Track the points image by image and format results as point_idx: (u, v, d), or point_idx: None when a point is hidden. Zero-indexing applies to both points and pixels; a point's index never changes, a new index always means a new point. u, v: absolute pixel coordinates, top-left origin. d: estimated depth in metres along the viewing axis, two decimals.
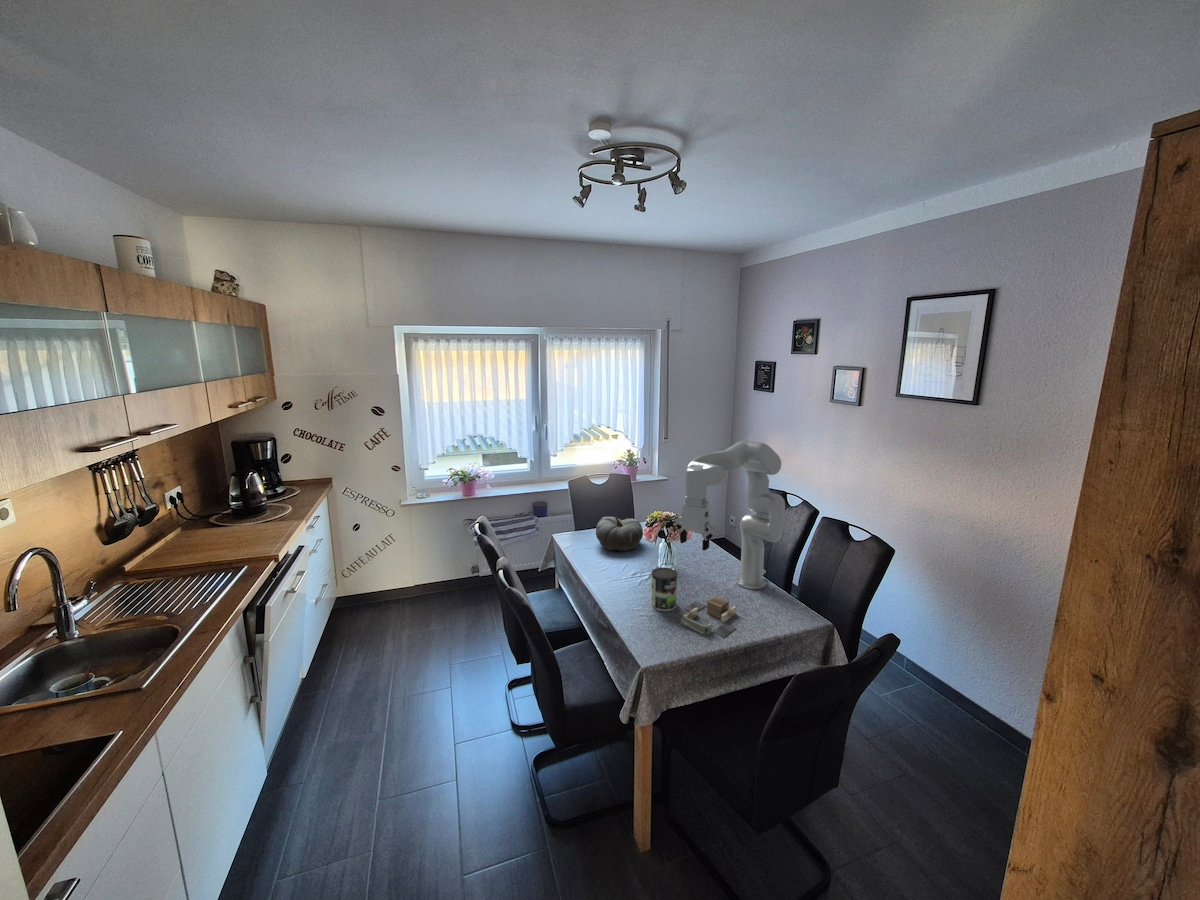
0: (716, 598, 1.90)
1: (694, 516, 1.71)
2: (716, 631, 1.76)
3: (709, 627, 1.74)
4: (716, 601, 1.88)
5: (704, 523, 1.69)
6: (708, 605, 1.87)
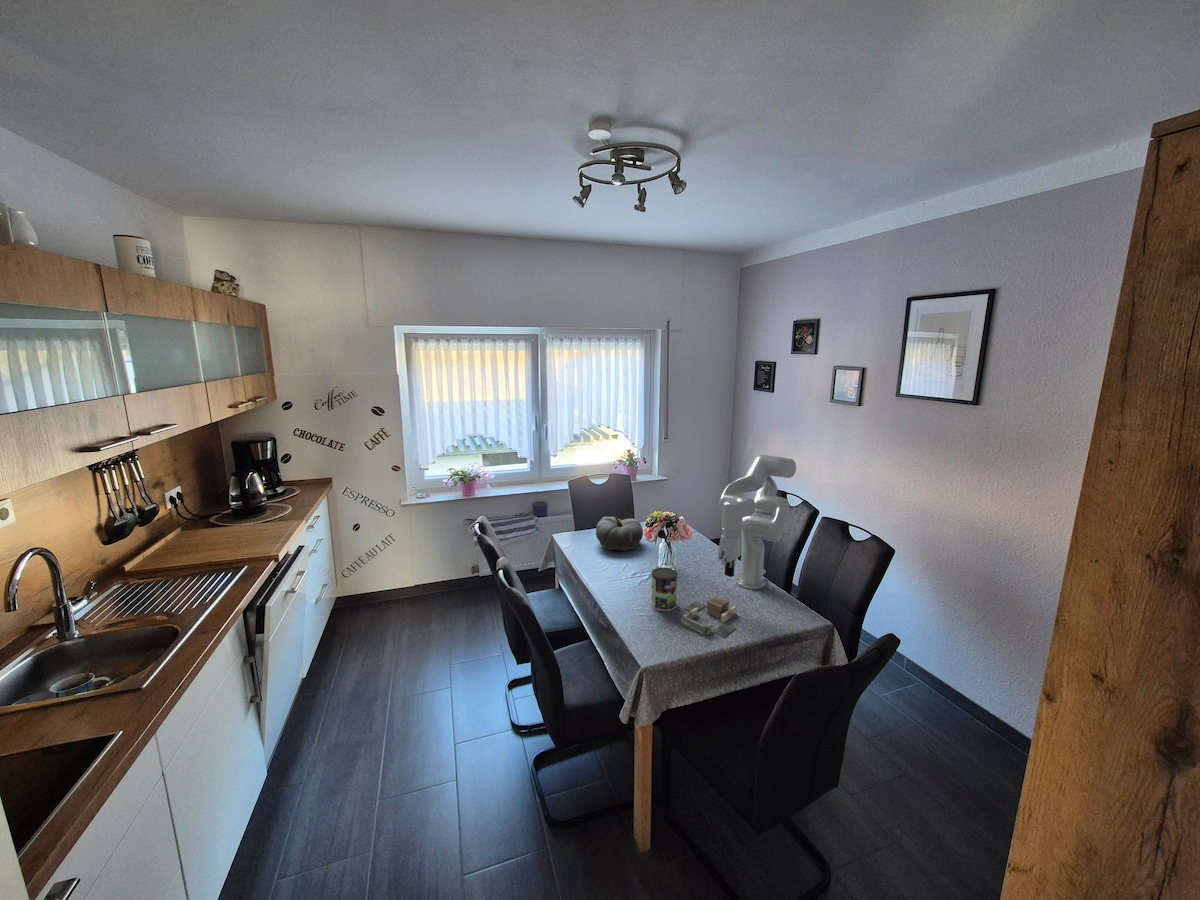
0: (716, 598, 1.90)
1: (738, 544, 1.88)
2: (716, 631, 1.76)
3: (709, 627, 1.74)
4: (716, 601, 1.88)
5: None
6: (708, 605, 1.87)
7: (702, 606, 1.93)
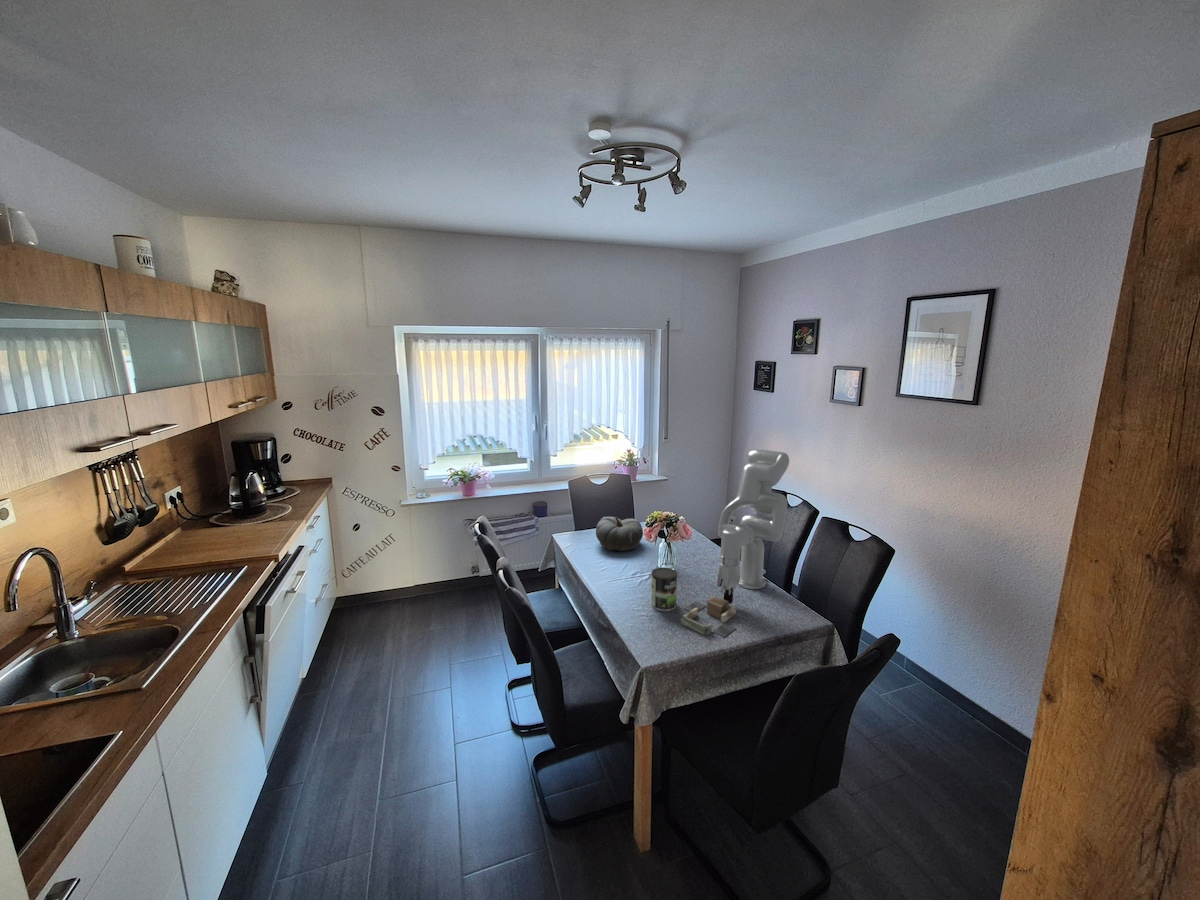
0: (716, 598, 1.90)
1: (736, 571, 1.90)
2: (716, 631, 1.76)
3: (709, 627, 1.74)
4: (716, 601, 1.88)
5: None
6: (709, 605, 1.87)
7: (702, 606, 1.93)
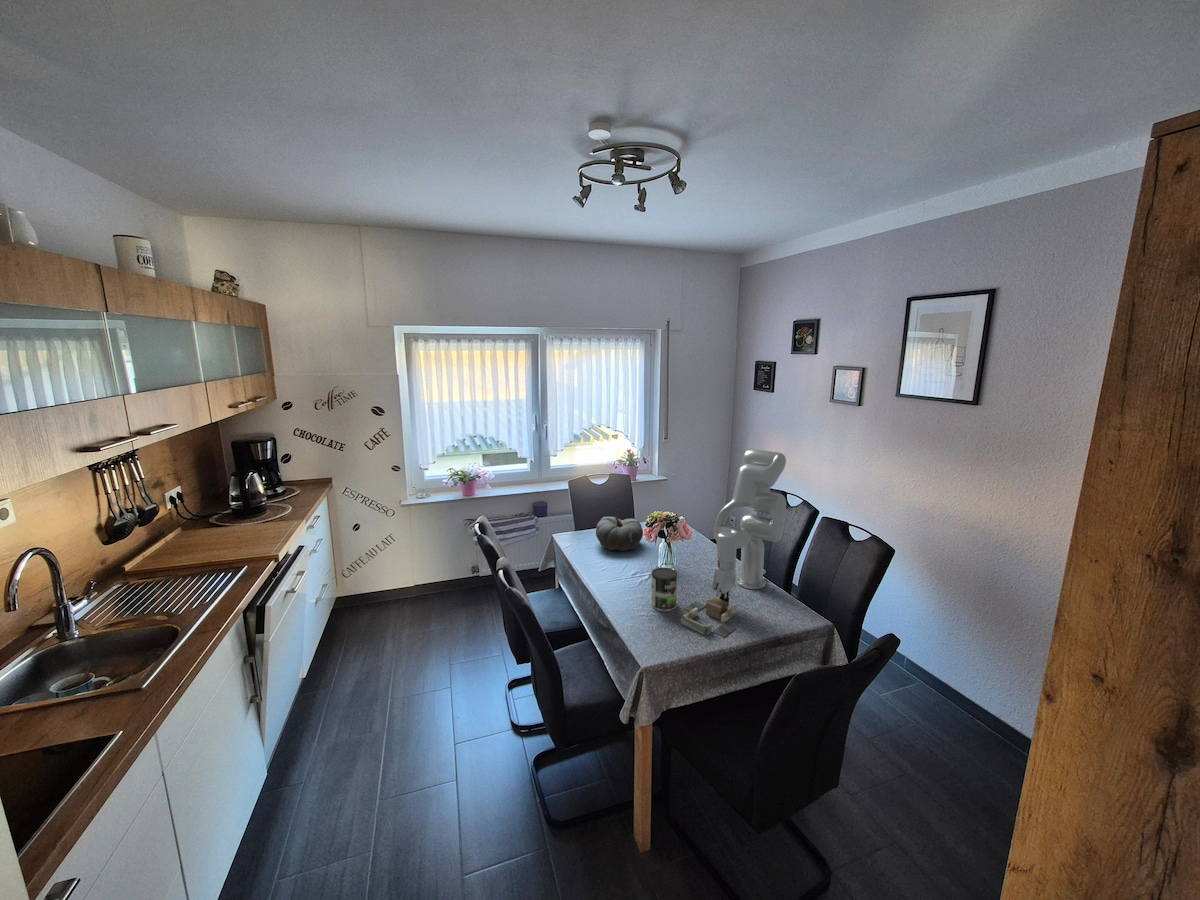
0: (715, 599, 1.89)
1: (732, 575, 1.88)
2: (716, 631, 1.76)
3: (709, 627, 1.74)
4: (715, 602, 1.87)
5: None
6: (707, 606, 1.87)
7: (702, 606, 1.93)
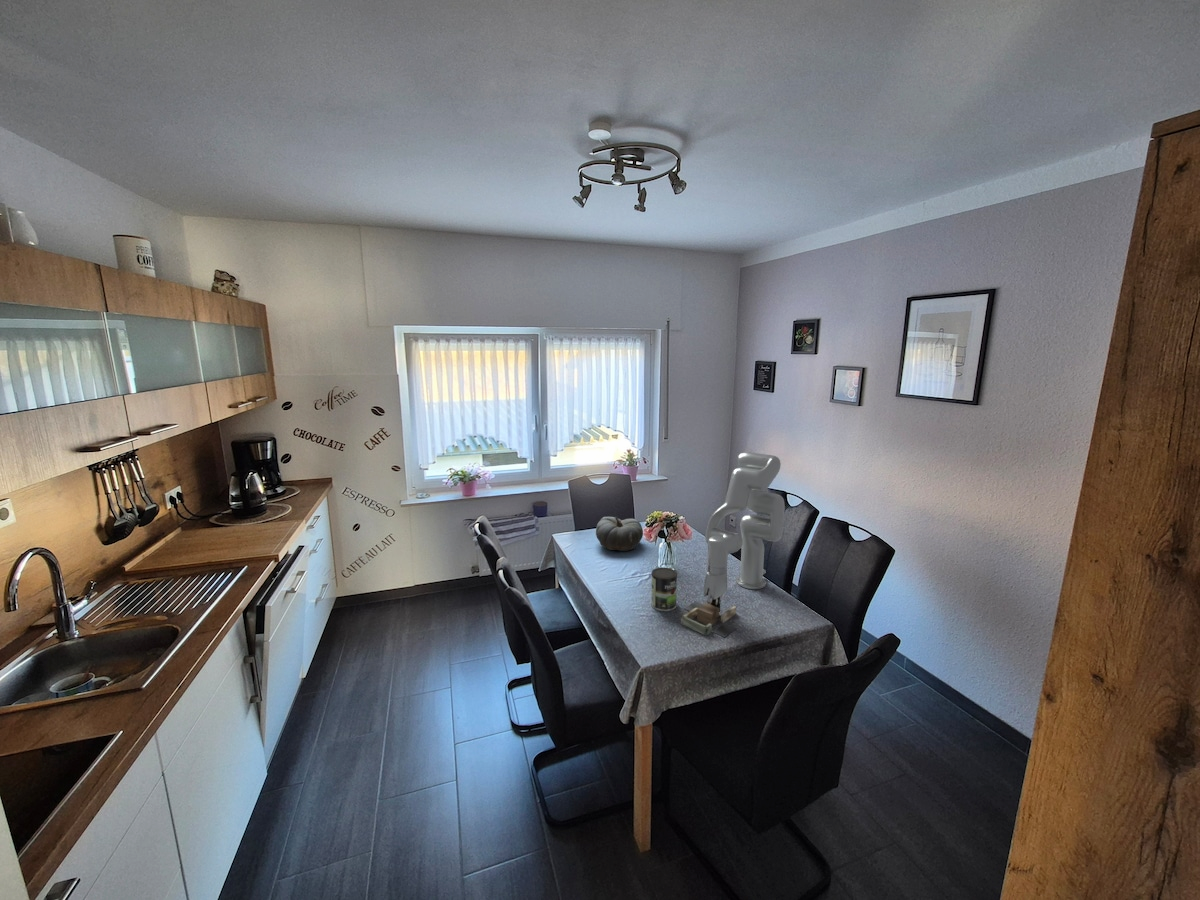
0: (706, 605, 1.85)
1: (724, 580, 1.84)
2: (716, 631, 1.76)
3: (709, 627, 1.74)
4: (706, 608, 1.82)
5: None
6: (699, 612, 1.82)
7: None
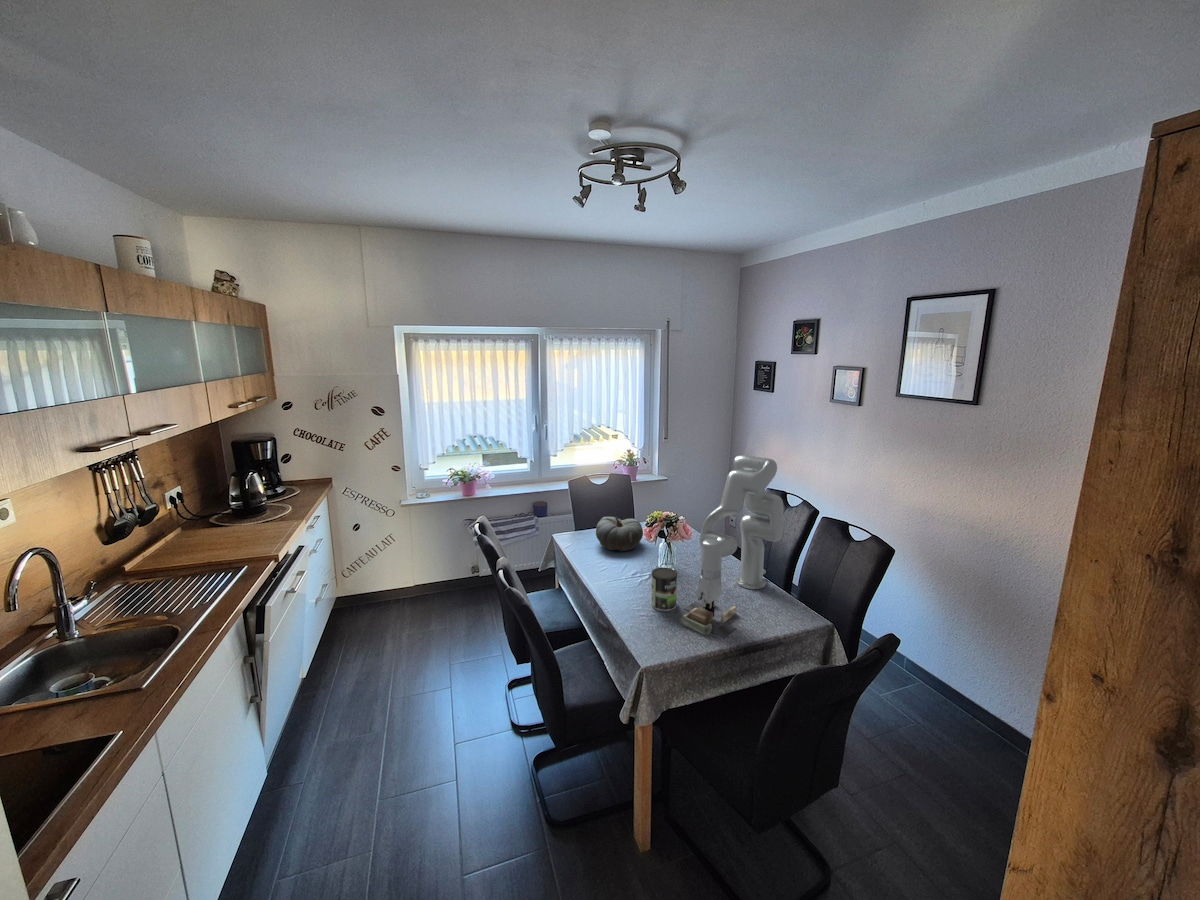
0: (700, 609, 1.82)
1: (718, 584, 1.81)
2: (716, 631, 1.76)
3: (709, 627, 1.74)
4: (700, 612, 1.80)
5: None
6: (692, 617, 1.79)
7: None
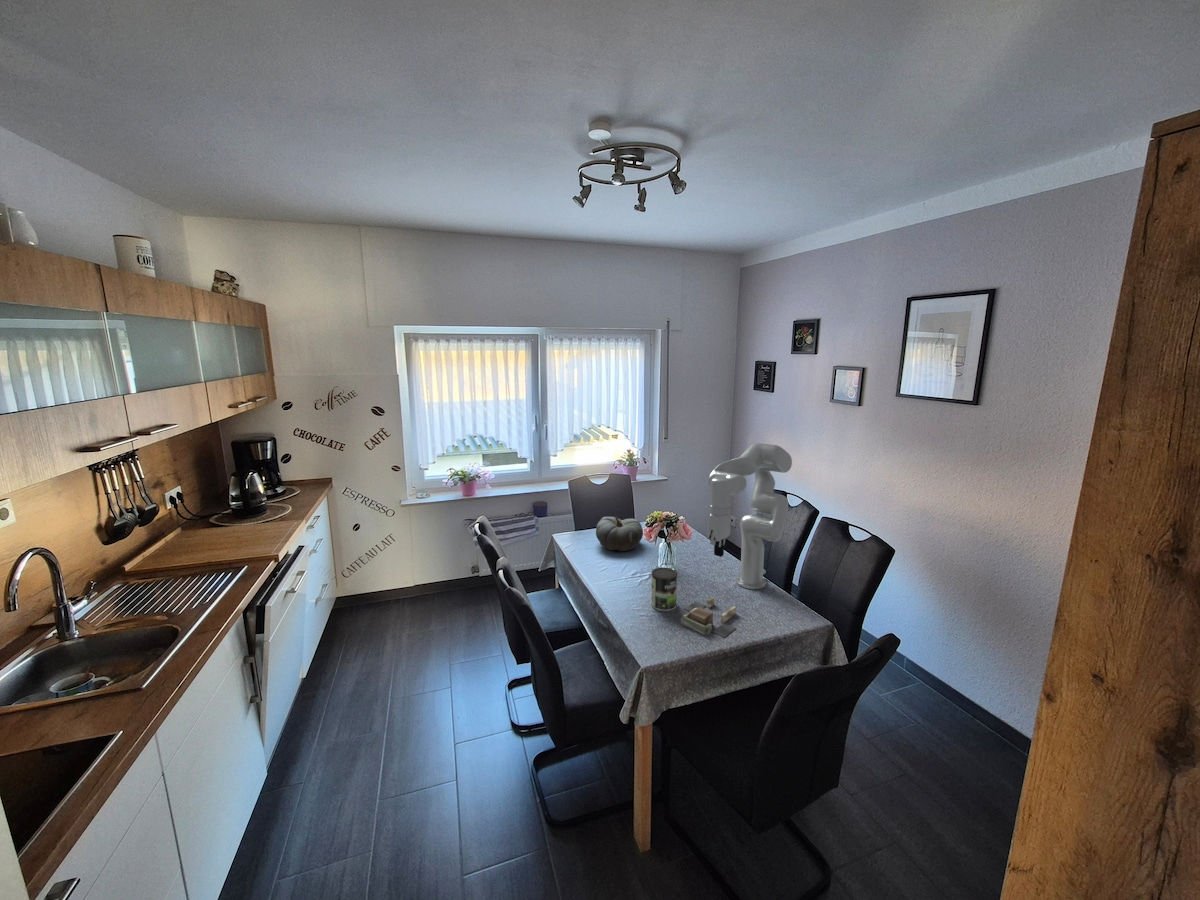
0: (700, 609, 1.82)
1: (727, 522, 1.80)
2: (716, 631, 1.76)
3: (709, 627, 1.74)
4: (700, 612, 1.80)
5: None
6: (692, 617, 1.79)
7: (702, 606, 1.93)
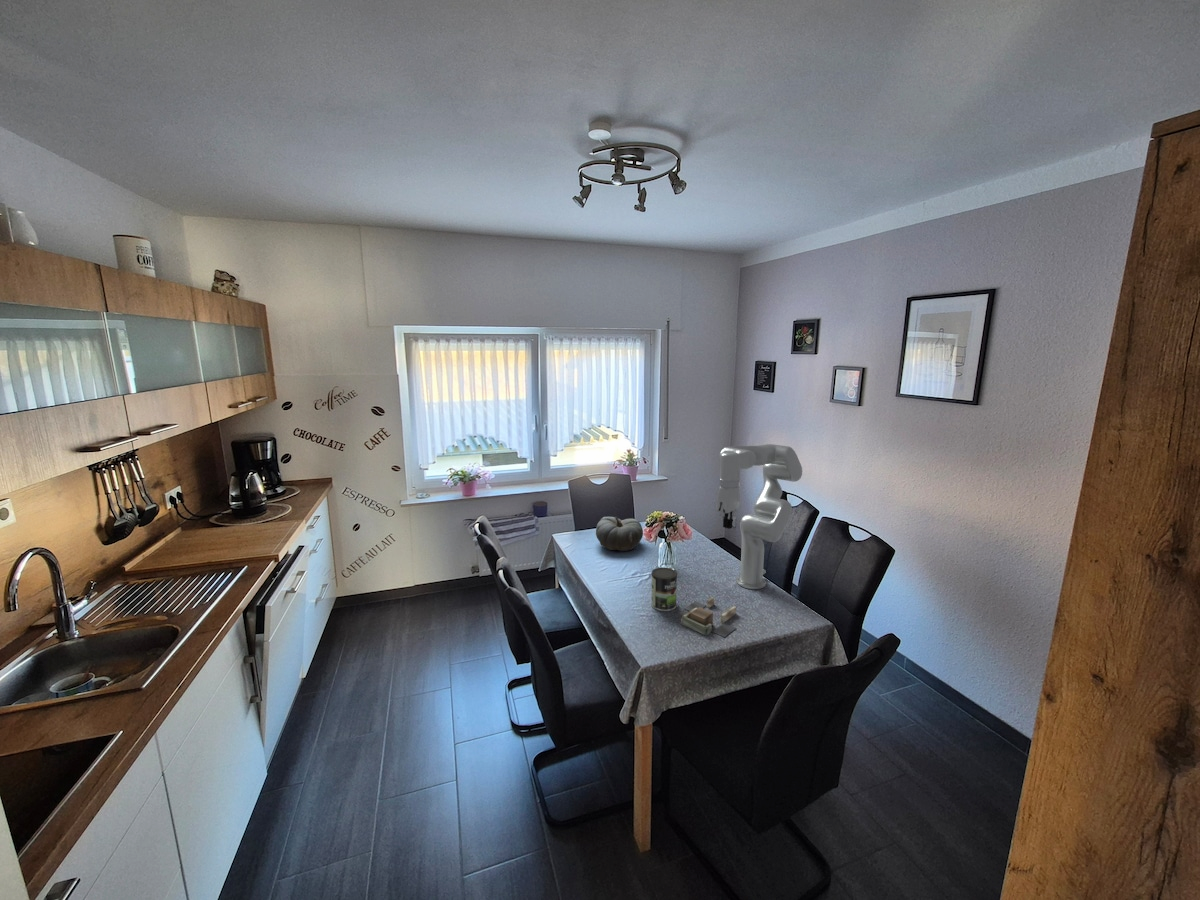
0: (700, 609, 1.82)
1: (736, 495, 1.88)
2: (716, 631, 1.76)
3: (709, 627, 1.74)
4: (700, 612, 1.80)
5: None
6: (692, 617, 1.79)
7: (702, 606, 1.93)
